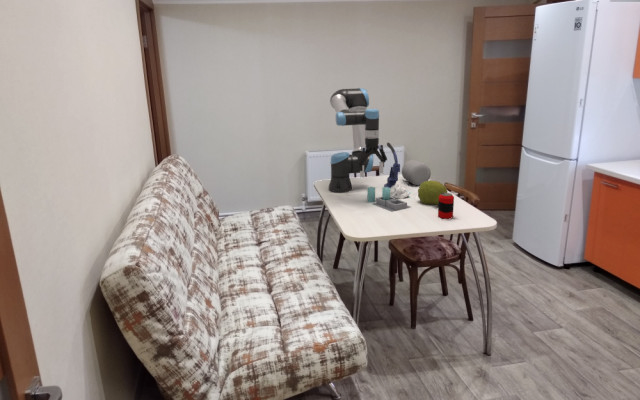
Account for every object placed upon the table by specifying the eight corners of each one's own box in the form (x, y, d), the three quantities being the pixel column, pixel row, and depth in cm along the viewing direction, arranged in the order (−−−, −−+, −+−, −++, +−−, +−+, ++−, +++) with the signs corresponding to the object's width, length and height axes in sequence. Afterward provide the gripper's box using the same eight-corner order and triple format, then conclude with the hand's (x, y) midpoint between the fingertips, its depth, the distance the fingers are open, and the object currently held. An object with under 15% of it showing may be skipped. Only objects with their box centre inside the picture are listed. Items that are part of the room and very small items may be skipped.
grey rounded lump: (400, 180, 298) (390, 166, 321) (414, 195, 304) (403, 181, 327) (423, 160, 294) (412, 148, 317) (437, 176, 300) (425, 163, 323)
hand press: (403, 191, 291) (404, 146, 283) (389, 192, 289) (390, 147, 281) (393, 184, 309) (394, 142, 301) (380, 185, 307) (381, 142, 299)
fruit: (442, 199, 272) (452, 179, 262) (440, 215, 262) (451, 195, 252) (415, 190, 273) (424, 170, 263) (413, 205, 262) (422, 185, 252)
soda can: (441, 213, 248) (442, 191, 244) (455, 216, 243) (456, 193, 240) (435, 217, 242) (436, 194, 239) (449, 219, 238) (450, 197, 234)
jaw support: (411, 196, 268) (398, 184, 268) (399, 207, 272) (387, 195, 271) (411, 190, 280) (399, 179, 280) (400, 201, 283) (388, 189, 283)
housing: (371, 205, 265) (371, 198, 264) (390, 201, 272) (390, 194, 270) (391, 213, 250) (391, 206, 249) (411, 208, 257) (412, 201, 256)
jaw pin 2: (380, 203, 265) (380, 187, 262) (386, 202, 267) (386, 186, 264) (385, 205, 261) (385, 189, 259) (391, 203, 263) (391, 188, 261)
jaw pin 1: (365, 202, 270) (365, 187, 268) (372, 201, 272) (372, 186, 270) (370, 204, 267) (370, 189, 264) (376, 203, 269) (376, 188, 266)
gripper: (357, 140, 249) (357, 179, 256) (393, 135, 262) (393, 172, 268) (349, 139, 256) (349, 176, 262) (385, 134, 268) (384, 170, 274)
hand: (371, 174), depth 265 cm, fingers open, 13 cm apart
